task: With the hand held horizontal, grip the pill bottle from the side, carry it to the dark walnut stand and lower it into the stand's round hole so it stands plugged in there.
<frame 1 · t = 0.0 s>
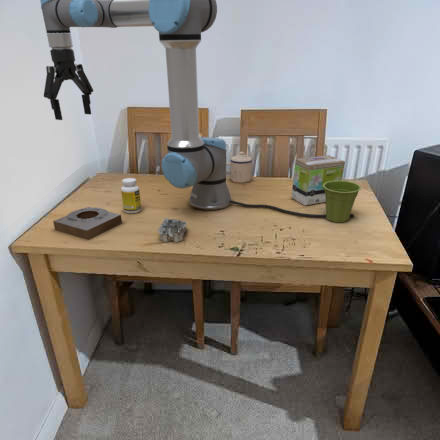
hand: (74, 116, 148), 28 cm above the table, tool pointing down, fingers open, 13 cm apart
teacup with lid: (237, 180, 175), on the table
plant pot: (336, 219, 138), on the table
egg carton: (173, 235, 128), on the table
pill bottle: (132, 211, 146), on the table
tea box: (315, 199, 154), on the table
bottle stand: (89, 226, 134), on the table
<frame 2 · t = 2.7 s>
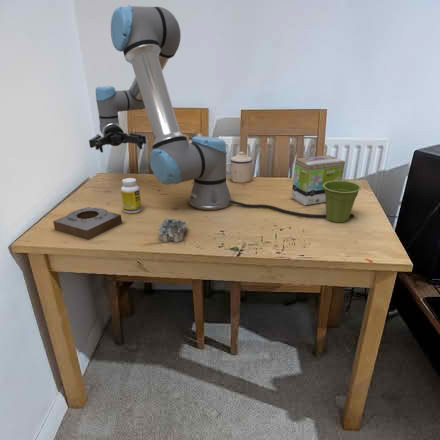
hand: (121, 146, 143), 20 cm above the table, tool horizontal, fingers open, 13 cm apart
nothing on the table moved.
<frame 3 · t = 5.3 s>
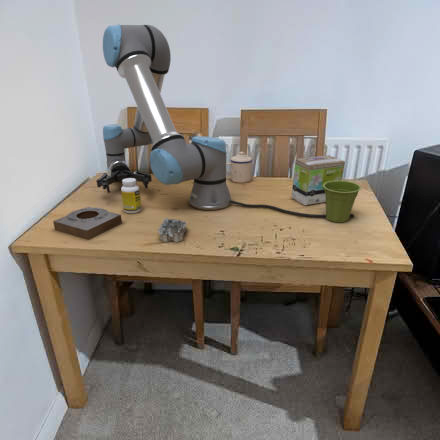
hand: (127, 186, 147), 7 cm above the table, tool horizontal, fingers open, 13 cm apart
nothing on the table moved.
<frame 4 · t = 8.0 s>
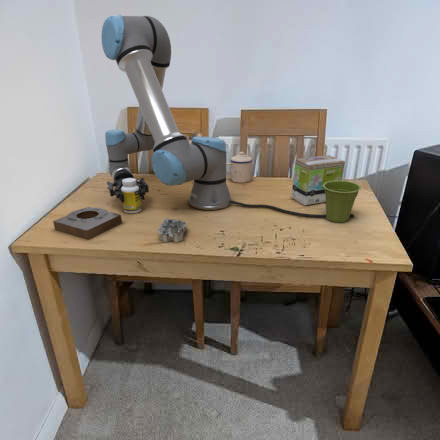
hand: (132, 197, 138), 6 cm above the table, tool horizontal, fingers closed on pill bottle, 6 cm apart
pill bottle: (132, 211, 146), on the table, touching gripper
everything else where it was.
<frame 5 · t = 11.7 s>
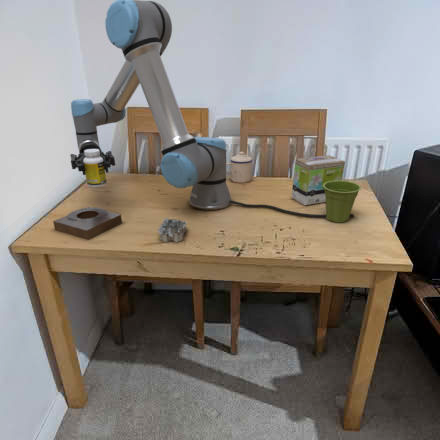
hand: (95, 169, 126), 18 cm above the table, tool horizontal, fingers closed on pill bottle, 6 cm apart
pill bottle: (97, 186, 133), point 11 cm above the table, touching gripper
everything else where it was.
when the fingers open (6 cm above the table, at t = 15.7 s): pill bottle stays where it is, resting in bottle stand.
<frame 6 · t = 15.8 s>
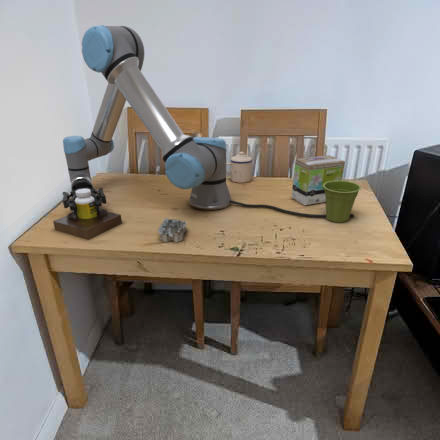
hand: (86, 209, 129), 6 cm above the table, tool horizontal, fingers open, 6 cm apart
pill bottle: (89, 223, 136), resting in bottle stand
everything else where it was.
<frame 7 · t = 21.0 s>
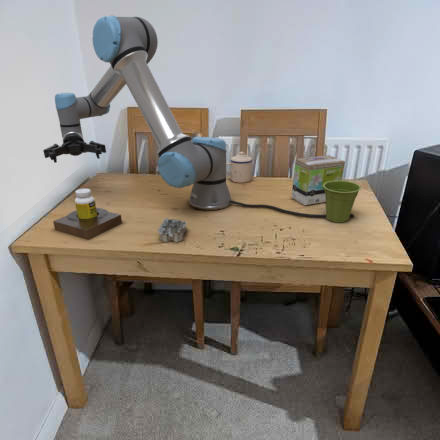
hand: (76, 156, 134), 19 cm above the table, tool horizontal, fingers open, 13 cm apart
nothing on the table moved.
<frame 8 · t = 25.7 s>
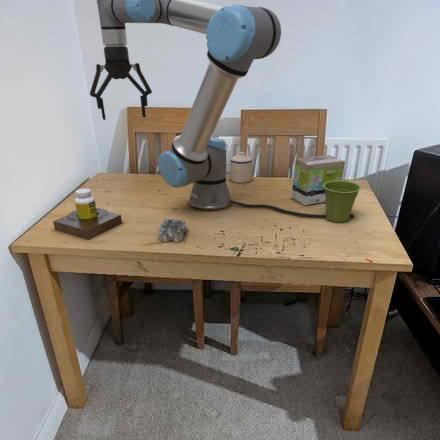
hand: (124, 118, 141), 29 cm above the table, tool pointing down, fingers open, 13 cm apart
nothing on the table moved.
at the end: pill bottle 0.1 cm from the target spot in the bottle stand, point 0.0 cm above the bottle stand's base; pill bottle tilted 0°; the gripper is holding nothing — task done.
